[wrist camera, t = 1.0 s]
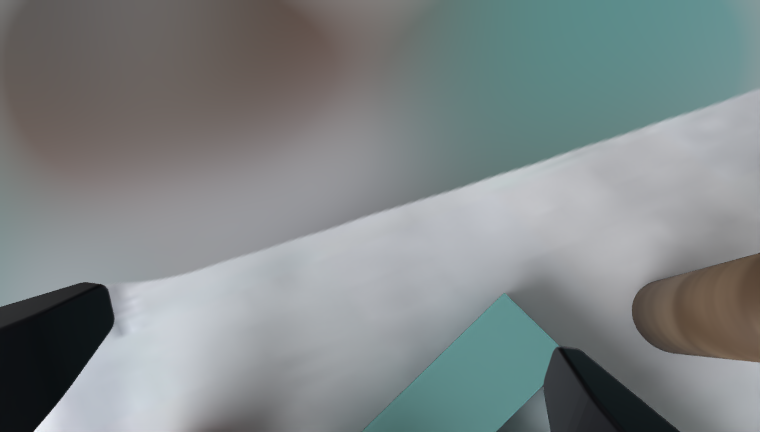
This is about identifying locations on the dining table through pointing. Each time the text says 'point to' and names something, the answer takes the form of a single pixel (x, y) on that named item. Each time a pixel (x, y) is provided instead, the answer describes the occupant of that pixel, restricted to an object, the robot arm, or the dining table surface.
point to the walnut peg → (704, 311)
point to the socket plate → (475, 377)
